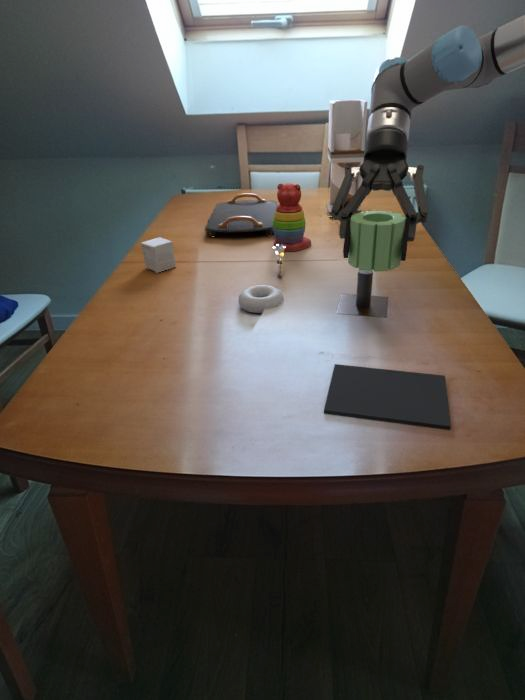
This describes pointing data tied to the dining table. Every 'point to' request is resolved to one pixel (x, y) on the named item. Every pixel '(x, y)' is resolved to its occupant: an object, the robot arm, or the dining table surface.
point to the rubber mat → (389, 396)
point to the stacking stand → (363, 299)
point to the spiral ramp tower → (345, 144)
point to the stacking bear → (289, 219)
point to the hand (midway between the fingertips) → (374, 255)
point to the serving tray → (242, 215)
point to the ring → (279, 256)
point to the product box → (158, 254)
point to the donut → (260, 298)
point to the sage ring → (376, 240)
